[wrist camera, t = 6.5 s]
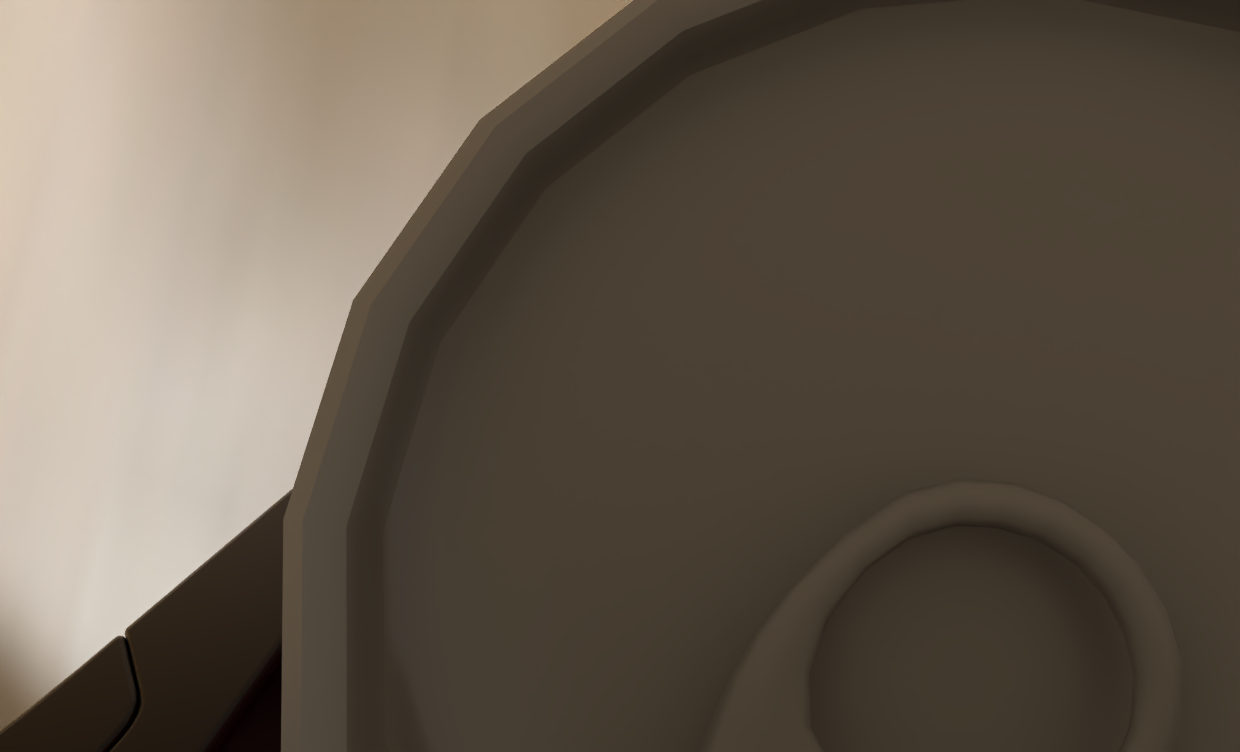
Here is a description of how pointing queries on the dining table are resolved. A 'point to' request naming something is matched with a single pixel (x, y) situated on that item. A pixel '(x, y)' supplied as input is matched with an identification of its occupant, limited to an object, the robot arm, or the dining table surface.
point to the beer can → (798, 398)
